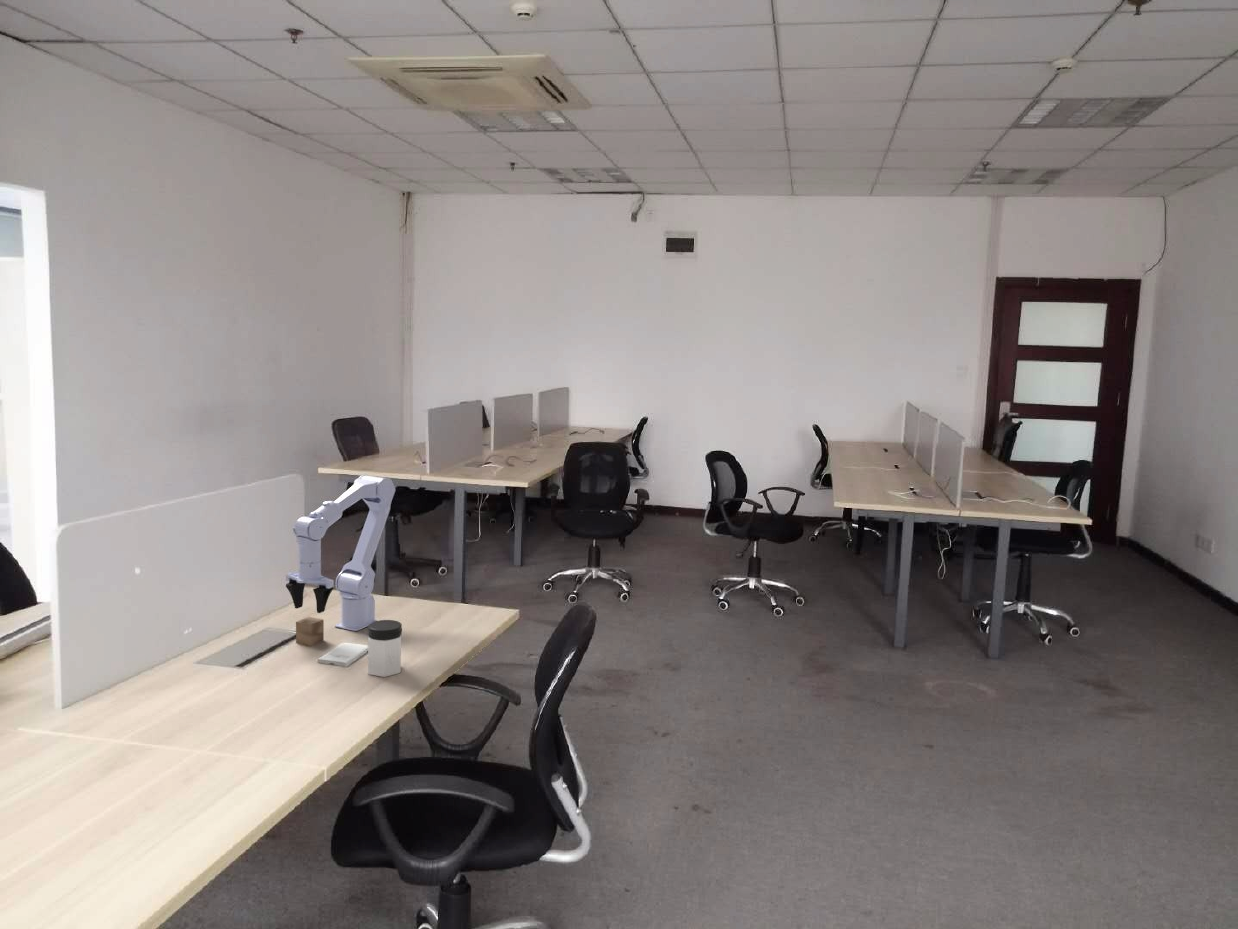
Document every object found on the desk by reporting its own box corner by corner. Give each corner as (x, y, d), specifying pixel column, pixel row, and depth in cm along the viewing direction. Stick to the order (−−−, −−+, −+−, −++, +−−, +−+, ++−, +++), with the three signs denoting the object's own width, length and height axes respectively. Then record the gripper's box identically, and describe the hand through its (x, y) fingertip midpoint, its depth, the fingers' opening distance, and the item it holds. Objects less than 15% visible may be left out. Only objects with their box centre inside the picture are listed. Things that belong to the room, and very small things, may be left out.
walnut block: (309, 637, 231) (309, 616, 230) (323, 640, 230) (323, 619, 229) (296, 643, 227) (295, 621, 226) (310, 646, 225) (310, 624, 224)
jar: (376, 680, 205) (376, 633, 203) (360, 669, 211) (360, 624, 209) (408, 671, 211) (409, 626, 209) (392, 661, 217) (393, 617, 215)
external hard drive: (370, 651, 224) (346, 668, 212) (342, 647, 226) (317, 664, 214) (370, 645, 224) (346, 662, 212) (342, 642, 226) (317, 658, 214)
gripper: (277, 560, 224) (277, 609, 226) (320, 568, 219) (320, 618, 221) (296, 555, 230) (296, 602, 232) (339, 562, 225) (338, 610, 227)
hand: (309, 609), depth 227 cm, fingers open, 7 cm apart
